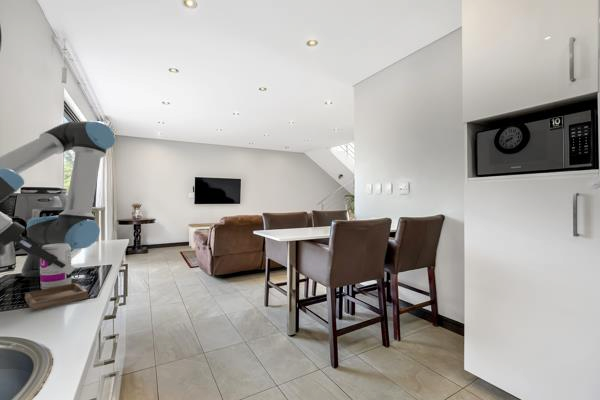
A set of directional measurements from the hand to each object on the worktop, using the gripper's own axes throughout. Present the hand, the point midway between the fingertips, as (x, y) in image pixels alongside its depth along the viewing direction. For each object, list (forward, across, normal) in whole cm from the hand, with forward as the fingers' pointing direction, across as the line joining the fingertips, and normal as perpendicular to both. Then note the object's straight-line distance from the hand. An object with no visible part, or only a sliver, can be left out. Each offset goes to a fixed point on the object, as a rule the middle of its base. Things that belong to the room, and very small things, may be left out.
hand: (68, 269), depth 98 cm
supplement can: (+2, 0, -6) cm, 7 cm away
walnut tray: (0, +14, -8) cm, 16 cm away
